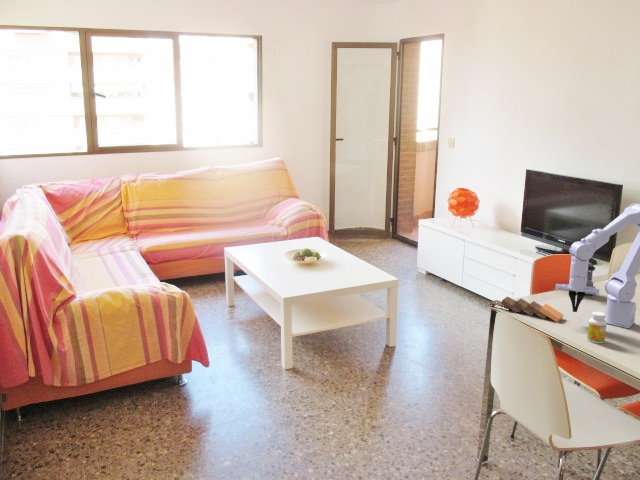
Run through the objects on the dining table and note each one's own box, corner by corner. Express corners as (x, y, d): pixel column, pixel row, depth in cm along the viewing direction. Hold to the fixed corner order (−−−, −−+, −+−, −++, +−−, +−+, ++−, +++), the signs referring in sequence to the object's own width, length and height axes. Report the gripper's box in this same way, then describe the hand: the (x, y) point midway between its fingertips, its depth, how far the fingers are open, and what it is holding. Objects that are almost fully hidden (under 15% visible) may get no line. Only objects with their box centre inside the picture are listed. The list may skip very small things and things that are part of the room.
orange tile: (564, 315, 223) (546, 303, 227) (559, 318, 220) (541, 307, 223) (561, 318, 224) (543, 307, 228) (557, 322, 220) (539, 310, 224)
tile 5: (513, 304, 236) (495, 300, 240) (508, 307, 232) (490, 303, 237) (513, 308, 236) (495, 304, 241) (508, 311, 232) (489, 307, 237)
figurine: (570, 298, 248) (573, 263, 244) (569, 290, 258) (572, 256, 255) (594, 300, 244) (598, 265, 241) (592, 292, 255) (596, 258, 252)
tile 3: (538, 309, 229) (521, 298, 233) (533, 312, 226) (516, 301, 229) (536, 312, 230) (519, 302, 234) (531, 316, 227) (514, 305, 230)
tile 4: (525, 305, 233) (507, 296, 236) (520, 309, 229) (502, 299, 233) (523, 309, 233) (506, 300, 237) (518, 313, 230) (501, 303, 233)
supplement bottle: (583, 338, 205) (586, 311, 203) (595, 336, 207) (598, 310, 205) (595, 344, 201) (598, 317, 198) (608, 342, 202) (611, 315, 200)
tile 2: (551, 312, 226) (533, 301, 230) (546, 315, 223) (528, 304, 226) (549, 315, 227) (531, 304, 231) (544, 319, 223) (526, 308, 227)
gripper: (600, 274, 216) (596, 310, 219) (557, 270, 221) (554, 305, 224) (600, 279, 209) (596, 316, 212) (556, 275, 215) (553, 310, 218)
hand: (574, 311), depth 218 cm, fingers closed
